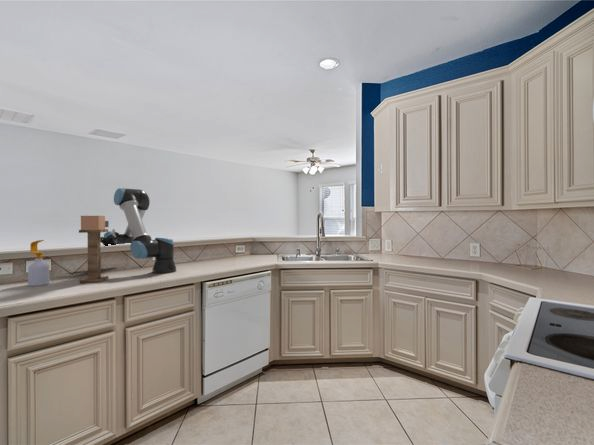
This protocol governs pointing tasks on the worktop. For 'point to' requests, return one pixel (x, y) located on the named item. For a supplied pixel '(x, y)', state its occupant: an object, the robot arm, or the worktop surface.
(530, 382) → the worktop surface
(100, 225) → the handled block
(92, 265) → the tall stand
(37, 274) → the soap bottle
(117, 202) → the robot arm
